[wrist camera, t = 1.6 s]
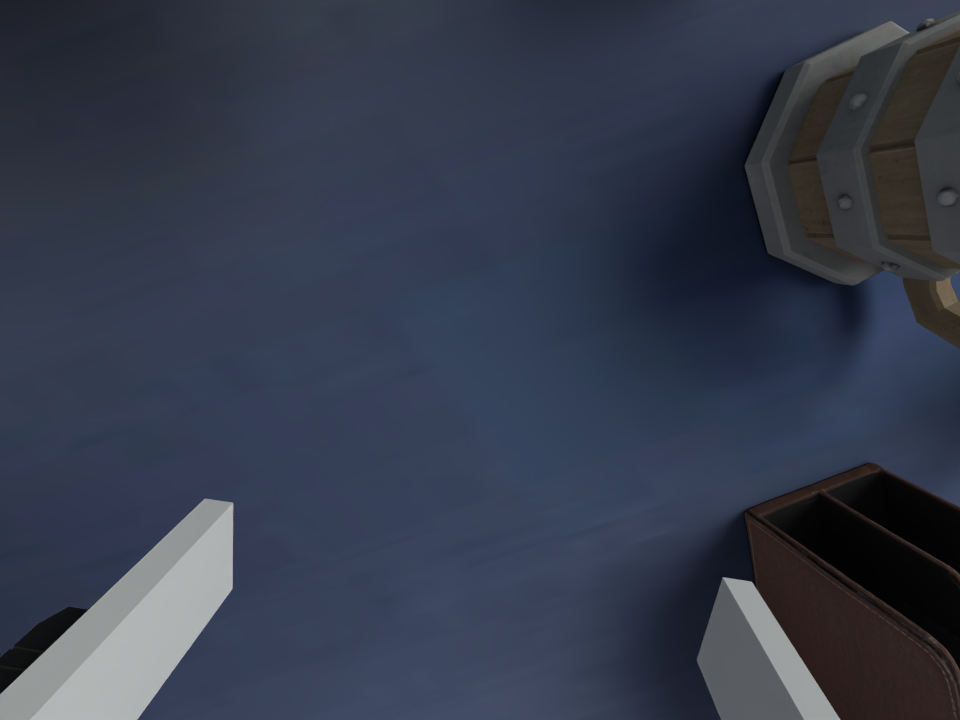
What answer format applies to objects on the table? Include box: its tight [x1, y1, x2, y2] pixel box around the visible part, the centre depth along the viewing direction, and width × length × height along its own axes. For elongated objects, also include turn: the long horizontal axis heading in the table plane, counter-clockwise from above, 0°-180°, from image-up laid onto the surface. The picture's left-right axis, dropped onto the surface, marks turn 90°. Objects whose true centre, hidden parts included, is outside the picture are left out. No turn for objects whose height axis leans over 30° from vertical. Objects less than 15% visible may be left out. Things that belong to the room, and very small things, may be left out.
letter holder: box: [744, 463, 960, 720], centre depth 32 cm, size 10×20×14 cm, turn 15°
